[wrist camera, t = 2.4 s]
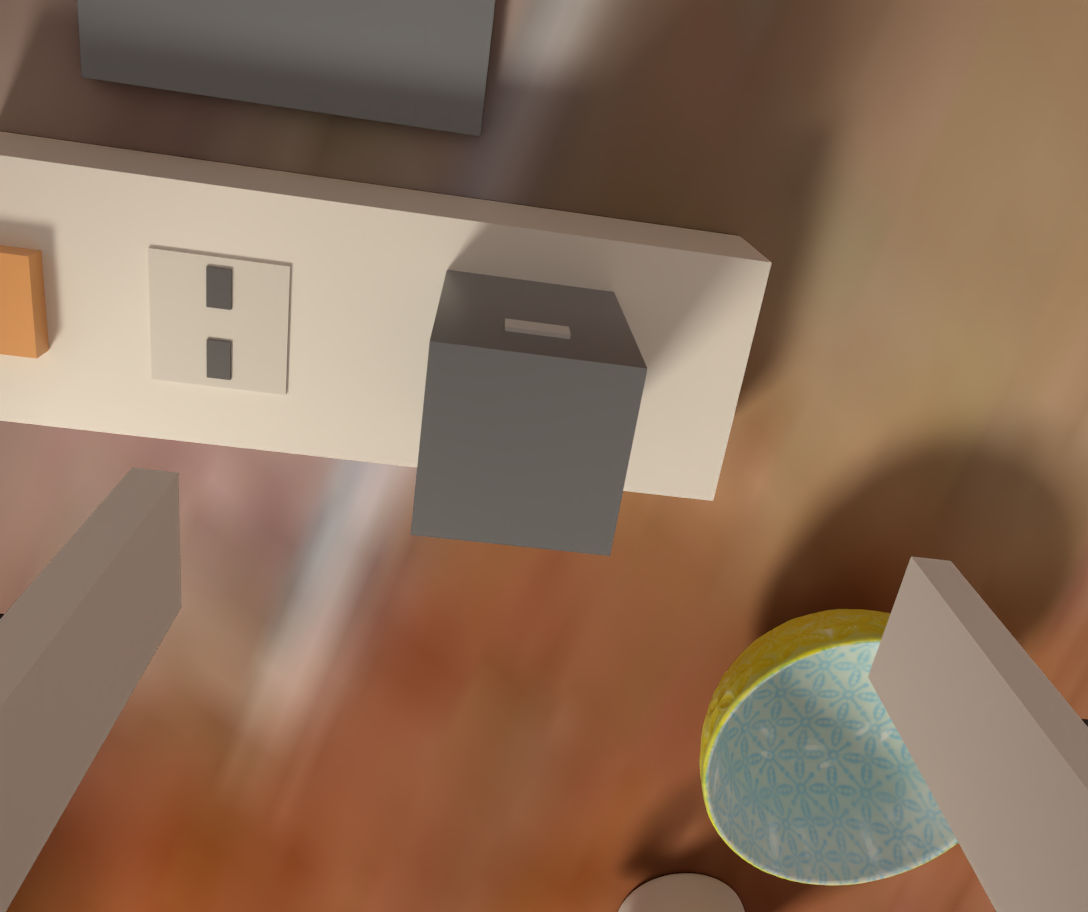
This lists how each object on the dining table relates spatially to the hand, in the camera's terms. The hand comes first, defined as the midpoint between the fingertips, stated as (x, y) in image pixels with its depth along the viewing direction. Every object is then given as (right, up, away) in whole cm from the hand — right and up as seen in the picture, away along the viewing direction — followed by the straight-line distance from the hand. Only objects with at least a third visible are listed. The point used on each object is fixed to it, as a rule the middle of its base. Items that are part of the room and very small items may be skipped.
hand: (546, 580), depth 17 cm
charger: (-1, +6, +13) cm, 15 cm away
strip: (-9, +8, +15) cm, 19 cm away
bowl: (+11, -6, +22) cm, 26 cm away
